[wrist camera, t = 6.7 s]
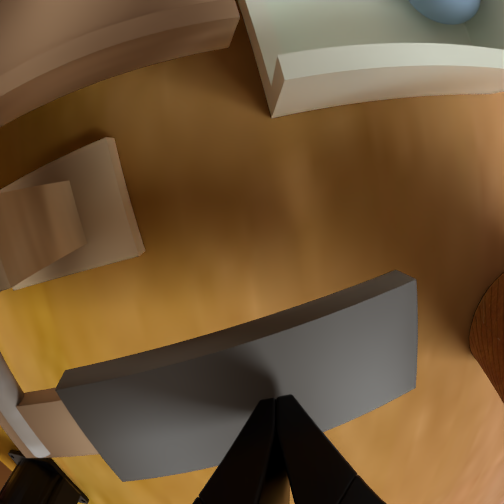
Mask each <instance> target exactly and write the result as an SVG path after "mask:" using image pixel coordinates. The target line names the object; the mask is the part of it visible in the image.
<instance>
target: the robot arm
mask: <svg viewBox="0 0 504 504" xmlns="http://www.w3.org/2000/svg"><path fill="white" fill-rule="evenodd" d="M8 454H9V456H10V457H11V458H12V459H13V461H14V462H15V463H16V464H17V466H16V467H15V469H14V470H13V472H12V474H11V475H10V477H9V478H8V480H7V482H6V483H5V485H4V487H3V488H2V490H1V491H0V504H77V503H78V502H80V503H85V504H88V502H89V499H88V498H87V497H86V496H85V495H84V494H83V493H82V492H81V491H80V490H79V489H78V488H77V487H76V486H75V485H74V484H73V483H72V482H71V481H70V480H69V479H68V477H67V476H66V475H65V474H64V473H63V472H62V471H61V470H60V469H59V468H58V466H57V465H56V464H55V463H54V462H53V461H52V460H50V459H47V458H26V457H25V456H24V455H23V454H22V453H20V452H16V451H12V450H10V451H9V453H8ZM290 487H291V491H292V495H293V499H294V503H295V504H386V503H385V502H384V501H383V500H382V499H381V498H380V497H379V496H378V495H377V494H376V493H375V492H374V491H373V490H372V489H371V488H370V487H369V486H368V485H367V484H366V483H365V482H364V480H363V479H362V478H361V477H360V476H359V475H357V473H356V471H355V470H354V469H353V468H352V467H351V466H350V464H349V463H348V462H347V461H346V460H345V458H344V457H343V456H342V455H341V454H340V453H339V451H338V450H337V449H336V448H335V447H334V445H333V444H332V443H331V442H330V440H329V439H328V438H327V437H326V436H325V434H324V433H323V432H322V431H321V429H320V428H319V427H318V426H317V425H316V423H315V422H314V421H313V420H312V418H311V417H310V416H309V415H308V413H307V412H306V411H305V410H304V408H303V407H302V406H301V405H300V403H299V402H298V401H297V399H296V398H295V397H294V396H293V395H292V394H288V395H283V396H279V397H277V399H276V398H267V399H262V400H260V401H259V402H258V403H257V405H256V407H255V409H254V410H253V412H252V414H251V415H250V417H249V418H248V420H247V422H246V423H245V425H244V427H243V428H242V430H241V431H240V433H239V435H238V436H237V438H236V439H235V441H234V443H233V444H232V446H231V447H230V449H229V450H228V452H227V454H226V455H225V457H224V458H223V460H222V461H221V463H220V464H219V466H218V467H217V469H216V470H215V472H214V473H213V475H212V476H211V478H210V479H209V481H208V482H207V484H206V485H205V487H204V488H203V489H202V491H201V492H200V494H199V497H200V498H199V497H197V498H196V499H195V501H194V502H193V504H289V499H290Z"/></svg>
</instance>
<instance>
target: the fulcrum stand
mask: <svg viewBox="0 0 504 504" xmlns="http://www.w3.org/2000/svg"><path fill="white" fill-rule="evenodd" d="M143 252H145V248H144V245H143V242H142V238H141V235H140V232H139V229H138V225H137V222H136V219H135V215H134V212H133V208H132V205H131V201H130V198H129V194H128V191H127V187H126V183H125V180H124V176H123V172H122V168H121V164H120V160H119V156H118V152H117V148H116V143H115V139H114V138H109V137H105V138H103V139H100V140H98V141H96V142H93V143H91V144H89V145H87V146H84V147H82V148H80V149H78V150H75V151H73V152H71V153H69V154H67V155H65V156H63V157H61V158H58V159H56V160H54V161H52V162H50V163H48V164H46V165H44V166H42V167H40V168H38V169H37V170H35V171H33V172H31V173H29V174H27V175H25V176H23V177H22V178H20V179H18V180H16V181H14V182H13V183H11V184H9V185H7V186H6V187H4V188H2V189H1V190H0V291H3V290H6V289H9V288H13V290H17V289H21V288H24V287H28V286H31V285H35V284H38V283H42V282H45V281H49V280H52V279H56V278H60V277H63V276H67V275H70V274H74V273H78V272H81V271H85V270H89V269H92V268H96V267H100V266H104V265H107V264H111V263H115V262H119V261H122V260H126V259H130V258H134V257H138V256H140V255H141V254H142V253H143Z"/></svg>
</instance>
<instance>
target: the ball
mask: <svg viewBox="0 0 504 504" xmlns="http://www.w3.org/2000/svg"><path fill="white" fill-rule="evenodd" d="M409 2H410V3H411V5H412V6H413V7H414V8H415V9H416V10H417V11H418V12H420V13H421V14H422V15H424V16H425V17H427V18H429V19H431V20H433V21H435V22H438V23H442V24H448V25H455V24H461V23H464V22H466V21H468V20H470V19H471V18H472V17H473V16H474V15H475V14H476V13H477V11H478V9H479V7H480V2H481V0H409Z"/></svg>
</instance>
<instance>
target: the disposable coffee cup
mask: <svg viewBox="0 0 504 504" xmlns="http://www.w3.org/2000/svg"><path fill="white" fill-rule="evenodd" d="M469 341H470V348H471V352H472V354H473V356H474V357H475V359H476V360H477V361H478V363H479V364H480V366H481V367H482V369H483V371H484V372H485V374H486V375H487V377H488V378H489V380H490V381H491V383H492V385H493V386H494V388H495V390H496V391H497V393H498V395H499V396H500V398H501V400H502V401H503V403H504V273H503V274H502V275H501V276H500V277H499V278H498V279H497V280H495V282H494V283H493V284H492V285H491V286H490V288H489V289H488V290H487V292H486V293H485V295H484V296H483V298H482V300H481V302H480V304H479V305H478V308H477V310H476V312H475V314H474V318H473V321H472V325H471V329H470V336H469Z"/></svg>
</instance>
